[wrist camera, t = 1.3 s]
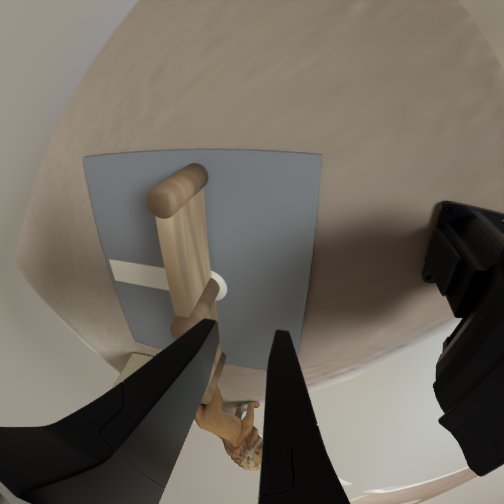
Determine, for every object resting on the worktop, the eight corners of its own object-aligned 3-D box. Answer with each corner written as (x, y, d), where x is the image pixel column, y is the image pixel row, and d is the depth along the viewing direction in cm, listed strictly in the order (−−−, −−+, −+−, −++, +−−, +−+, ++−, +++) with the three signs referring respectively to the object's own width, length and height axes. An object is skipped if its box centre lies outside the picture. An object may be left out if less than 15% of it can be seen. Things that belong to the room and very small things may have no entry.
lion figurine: (286, 413, 34) (275, 473, 26) (257, 420, 36) (243, 474, 29) (204, 354, 30) (175, 424, 22) (177, 365, 32) (149, 426, 25)
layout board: (321, 154, 17) (322, 155, 16) (294, 370, 28) (293, 374, 27) (85, 156, 20) (81, 157, 20) (136, 339, 31) (134, 342, 31)
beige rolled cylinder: (207, 163, 18) (174, 187, 14) (216, 276, 22) (194, 319, 18) (182, 163, 18) (144, 186, 14) (194, 273, 23) (170, 314, 19)
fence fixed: (219, 277, 23) (194, 326, 18) (227, 362, 29) (212, 406, 24) (195, 273, 23) (167, 321, 18) (209, 358, 29) (192, 401, 24)
